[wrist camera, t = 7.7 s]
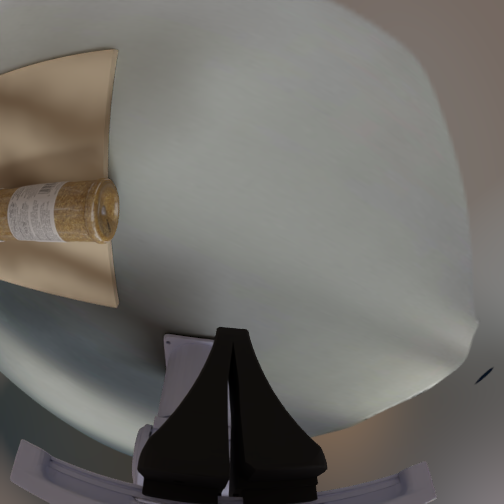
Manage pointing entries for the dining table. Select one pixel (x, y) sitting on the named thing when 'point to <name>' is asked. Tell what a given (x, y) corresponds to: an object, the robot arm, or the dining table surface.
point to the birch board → (58, 166)
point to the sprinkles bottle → (60, 212)
